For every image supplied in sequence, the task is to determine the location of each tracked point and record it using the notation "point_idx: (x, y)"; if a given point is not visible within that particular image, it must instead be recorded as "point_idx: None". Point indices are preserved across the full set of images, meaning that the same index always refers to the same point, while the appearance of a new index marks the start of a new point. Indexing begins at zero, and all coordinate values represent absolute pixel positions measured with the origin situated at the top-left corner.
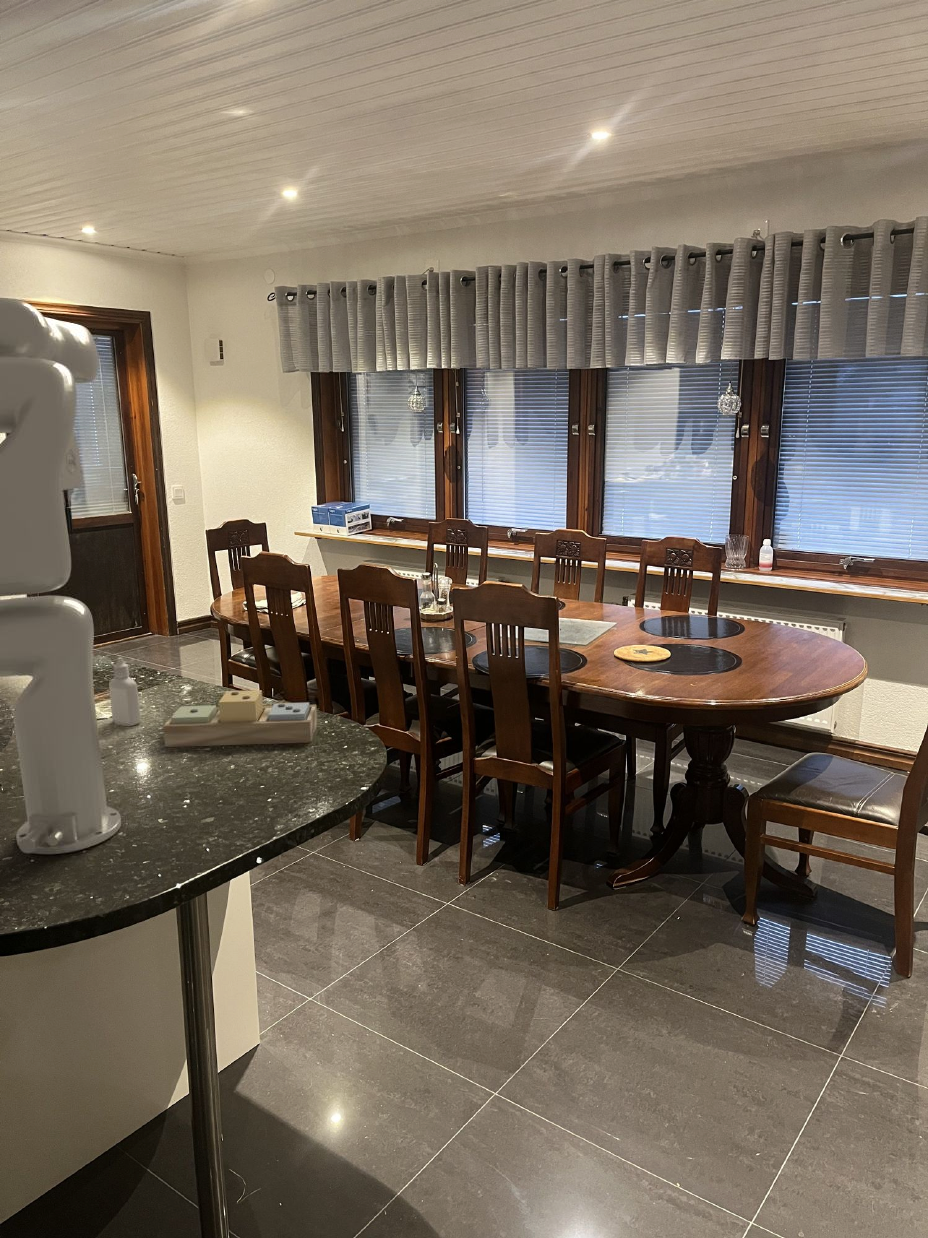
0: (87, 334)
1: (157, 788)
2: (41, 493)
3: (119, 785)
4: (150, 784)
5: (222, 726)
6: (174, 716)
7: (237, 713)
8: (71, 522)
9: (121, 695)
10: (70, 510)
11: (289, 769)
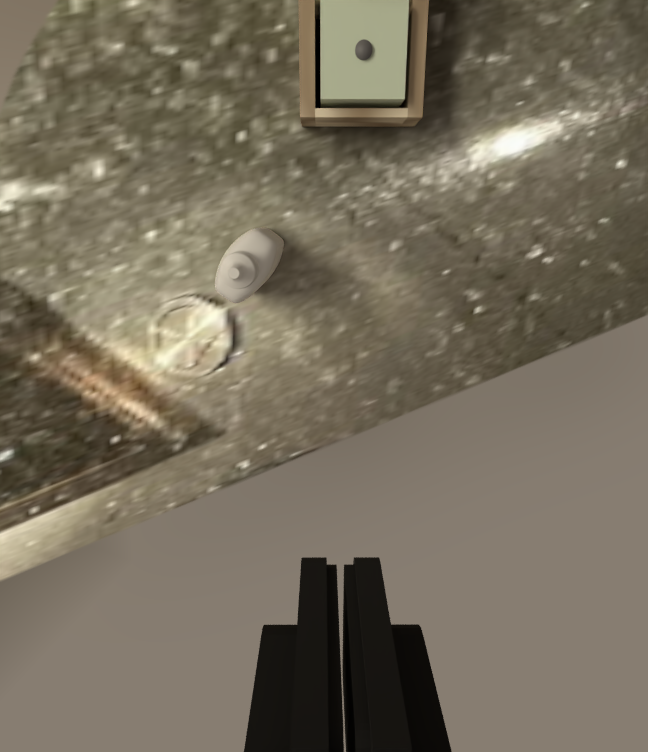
0: None
1: (632, 74)
2: None
3: (599, 158)
4: (609, 95)
5: None
6: (396, 93)
7: None
8: (324, 607)
9: (275, 260)
10: (314, 713)
11: None
